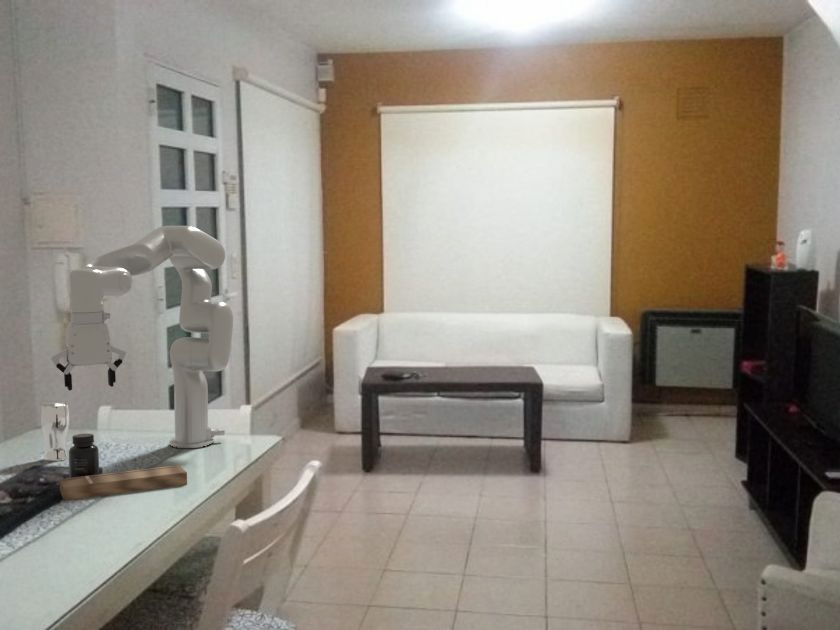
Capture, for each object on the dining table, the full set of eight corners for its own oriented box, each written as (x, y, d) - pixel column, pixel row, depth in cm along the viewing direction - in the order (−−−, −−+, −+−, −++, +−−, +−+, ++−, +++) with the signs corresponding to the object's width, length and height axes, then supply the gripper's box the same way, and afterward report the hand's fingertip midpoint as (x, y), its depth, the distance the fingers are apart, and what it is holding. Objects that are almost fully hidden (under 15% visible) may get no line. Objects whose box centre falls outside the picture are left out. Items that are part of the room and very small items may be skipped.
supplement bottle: (105, 481, 209) (104, 433, 208) (84, 488, 203) (82, 439, 202) (85, 478, 212) (83, 431, 211) (63, 485, 206) (61, 436, 205)
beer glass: (74, 456, 235) (73, 402, 234) (61, 462, 228) (60, 407, 227) (51, 455, 235) (49, 401, 234) (37, 461, 229) (35, 406, 227)
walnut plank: (179, 476, 214) (178, 464, 214) (187, 484, 208) (186, 471, 207) (59, 491, 201) (59, 478, 200) (64, 500, 194) (63, 487, 194)
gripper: (121, 315, 215) (123, 382, 217) (47, 319, 207) (51, 388, 209) (127, 318, 209) (129, 386, 211) (51, 322, 200) (54, 393, 202)
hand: (90, 387), depth 210 cm, fingers open, 9 cm apart
